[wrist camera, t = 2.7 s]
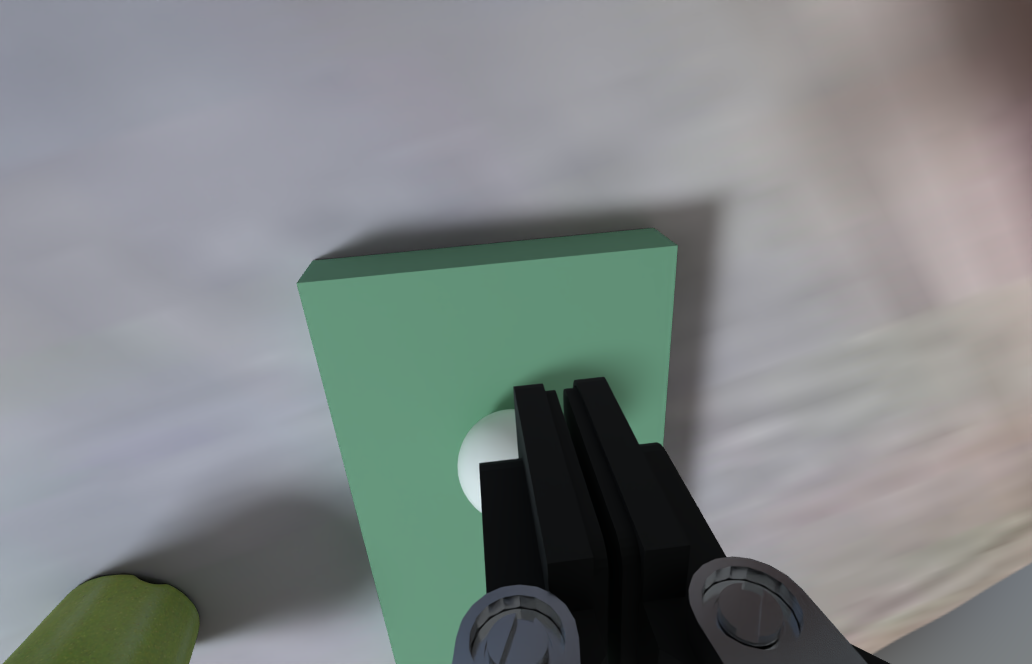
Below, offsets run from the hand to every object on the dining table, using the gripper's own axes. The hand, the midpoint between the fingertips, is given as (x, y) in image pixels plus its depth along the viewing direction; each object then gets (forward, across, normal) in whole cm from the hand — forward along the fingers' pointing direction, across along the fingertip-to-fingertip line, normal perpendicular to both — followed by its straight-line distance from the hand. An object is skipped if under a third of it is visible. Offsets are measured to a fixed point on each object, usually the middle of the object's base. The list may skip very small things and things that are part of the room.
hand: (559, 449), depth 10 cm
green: (+12, +1, +13) cm, 18 cm away
